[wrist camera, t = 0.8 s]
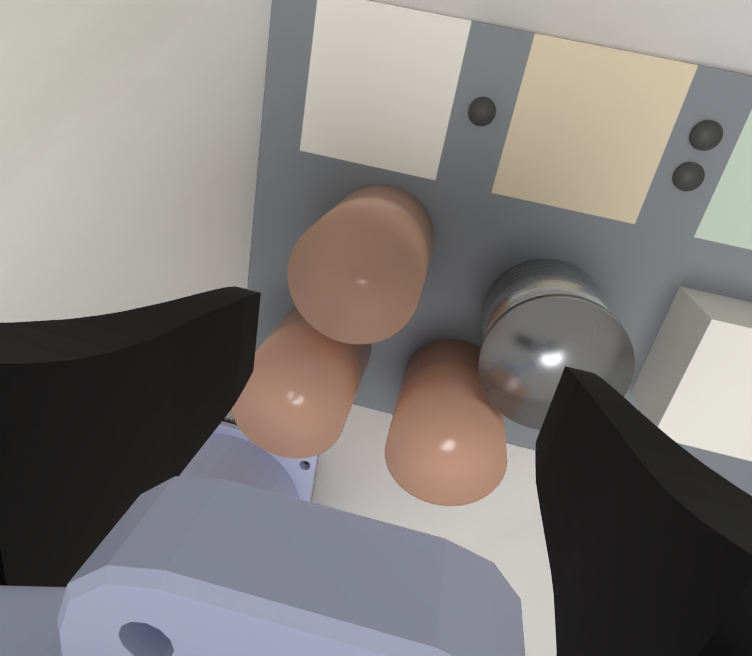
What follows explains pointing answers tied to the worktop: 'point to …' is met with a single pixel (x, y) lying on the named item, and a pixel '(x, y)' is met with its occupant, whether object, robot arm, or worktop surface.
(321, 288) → the tan rounded cylinder
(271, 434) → the tan rounded block
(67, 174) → the worktop surface
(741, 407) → the white block
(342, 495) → the worktop surface
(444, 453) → the tan rounded block
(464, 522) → the worktop surface
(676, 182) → the board
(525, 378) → the tin
